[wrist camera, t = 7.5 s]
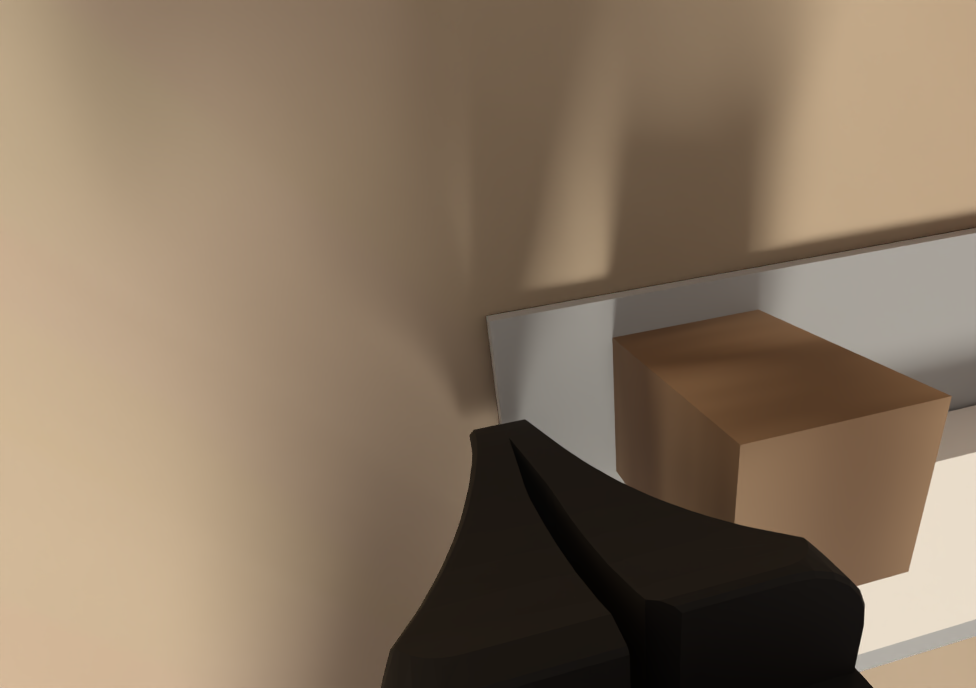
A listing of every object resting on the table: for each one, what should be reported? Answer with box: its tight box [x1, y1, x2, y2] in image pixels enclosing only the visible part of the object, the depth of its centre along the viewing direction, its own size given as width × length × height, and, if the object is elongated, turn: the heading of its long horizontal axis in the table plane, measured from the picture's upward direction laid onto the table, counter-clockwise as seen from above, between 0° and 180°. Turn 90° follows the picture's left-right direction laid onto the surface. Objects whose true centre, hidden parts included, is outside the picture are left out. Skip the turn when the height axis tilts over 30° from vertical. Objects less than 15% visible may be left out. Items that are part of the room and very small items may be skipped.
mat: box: [486, 228, 976, 672], centre depth 17 cm, size 20×17×1 cm
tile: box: [857, 405, 976, 655], centre depth 17 cm, size 2×7×7 cm
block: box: [612, 310, 952, 586], centre depth 12 cm, size 4×4×5 cm
